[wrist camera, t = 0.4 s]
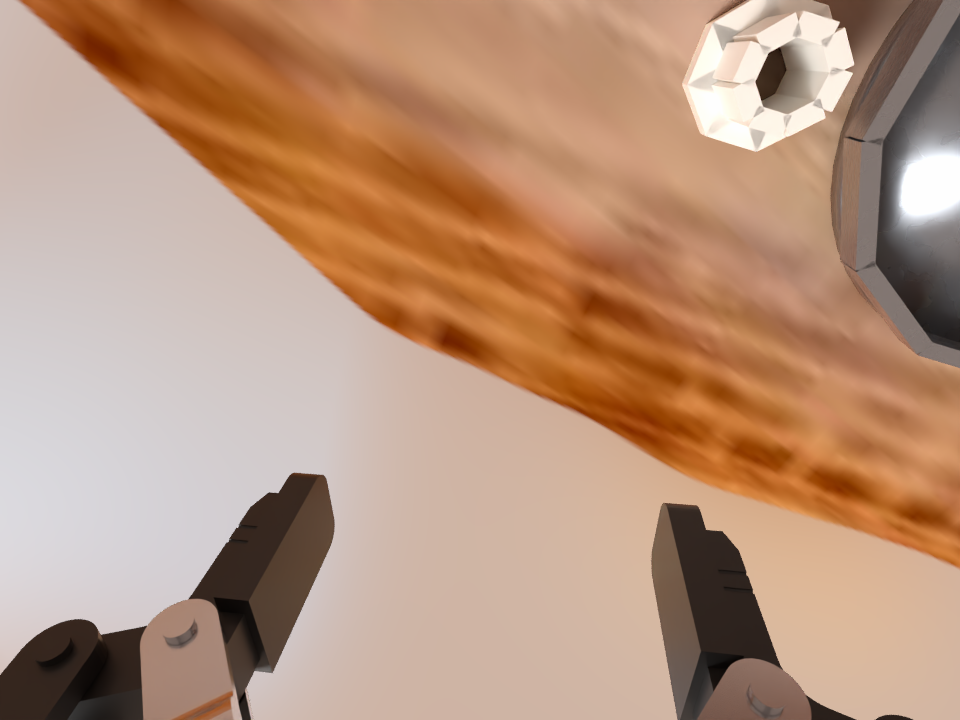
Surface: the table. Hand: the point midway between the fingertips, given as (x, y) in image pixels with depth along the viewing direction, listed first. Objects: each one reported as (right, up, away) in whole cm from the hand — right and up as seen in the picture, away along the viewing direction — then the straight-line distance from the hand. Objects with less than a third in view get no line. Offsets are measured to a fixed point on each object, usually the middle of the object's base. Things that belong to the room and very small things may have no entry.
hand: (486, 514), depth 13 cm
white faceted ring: (+15, +20, +17) cm, 30 cm away
